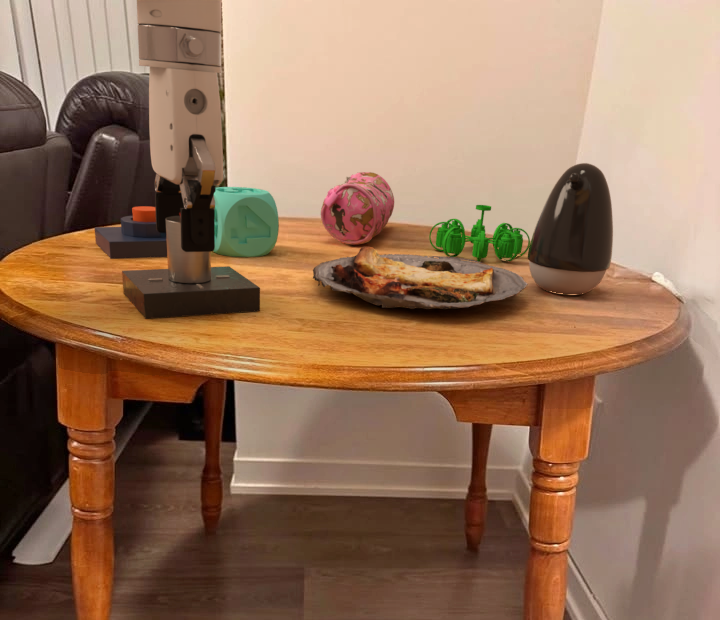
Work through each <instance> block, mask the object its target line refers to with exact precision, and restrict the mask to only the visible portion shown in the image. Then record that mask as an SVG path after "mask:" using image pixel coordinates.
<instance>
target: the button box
mask: <svg viewBox="0 0 720 620" xmlns="http://www.w3.org/2000/svg"><path fill="white" fill-rule="evenodd" d="M94 237H95V244H96V245H97V246H98V247H99V248H100V250H101V251H102V252H103V253H105V254H107V255H108V256H109V257H110V258H109V257H108V256H107V255H106V256H107V257H108V258H109V259H110V260H117V259H118V260H119V259H122V260H123V259H151V258H153V259H154V258H167V238H166V233H160V232H158V231H157V229H156V222H138V221H133V215H127V216H123V217H120V226H96V227H95V226H94Z"/></svg>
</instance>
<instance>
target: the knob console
mask: <svg viewBox="0 0 720 620" xmlns="http://www.w3.org/2000/svg"><path fill="white" fill-rule="evenodd" d="M121 278H122V290H123V291H122V293H123V295H124V296H125V297H126V298H127V300H129V302H130V303H131V304H132V305H133V306H134V307H135V309H136V310H137V311H138V312H139V313H140V314H141V315H142V317H143V318H144V319H145V320H146V319H147V320H151V319H164V318H165V319H166V318H178V317H181V318H182V317H194V316H195V317H196V316H209V315H223V314H238V313H252V312H253V313H254V312H255V313H256V312H261V287H260V286H259V285H257V284H256V283H254V282H252V281H251V280H250V279H248V278H247V277H245V276H244V275H242V274H241V273H240V272H238V271H237V270H235V269H234V268H233V267H231V266H211V280H210V281H207V282H203V283H179V282H174V281H171V280H170V279H169V278H168V268H155V269H132V270H130V269H129V270H127V269H126V270H121Z"/></svg>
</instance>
